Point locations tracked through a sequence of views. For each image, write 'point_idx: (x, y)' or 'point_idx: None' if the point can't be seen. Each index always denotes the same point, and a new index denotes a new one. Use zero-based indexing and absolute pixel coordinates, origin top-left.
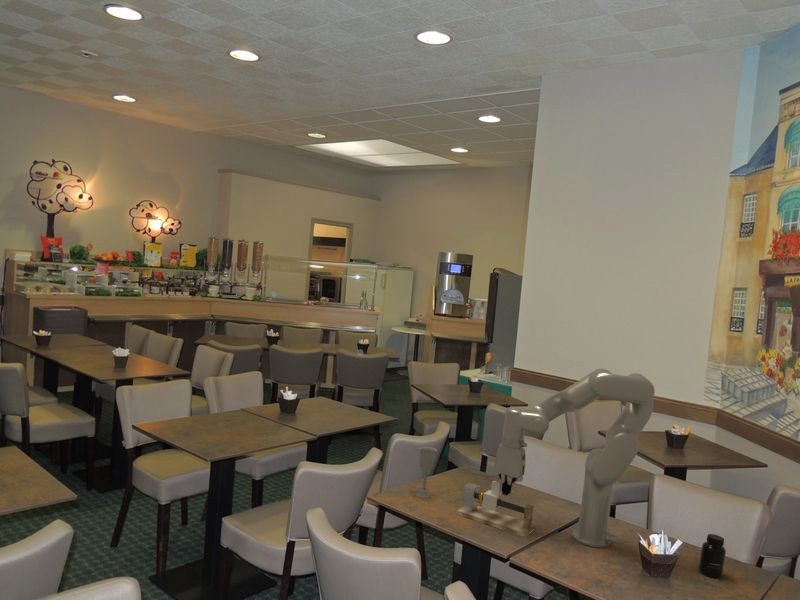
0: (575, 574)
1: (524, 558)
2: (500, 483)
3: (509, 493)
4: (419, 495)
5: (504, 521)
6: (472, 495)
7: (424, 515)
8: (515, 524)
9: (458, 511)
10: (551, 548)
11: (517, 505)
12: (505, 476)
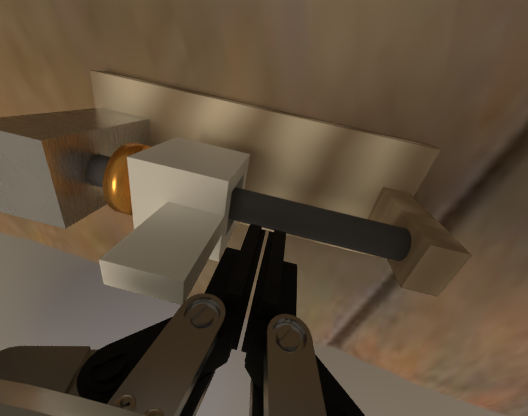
0: (499, 378)
1: (367, 350)
2: (182, 302)
3: (285, 232)
4: None
5: (289, 196)
6: (94, 207)
7: (68, 240)
8: (337, 201)
9: None
10: (465, 283)
11: (350, 240)
12: (178, 371)
